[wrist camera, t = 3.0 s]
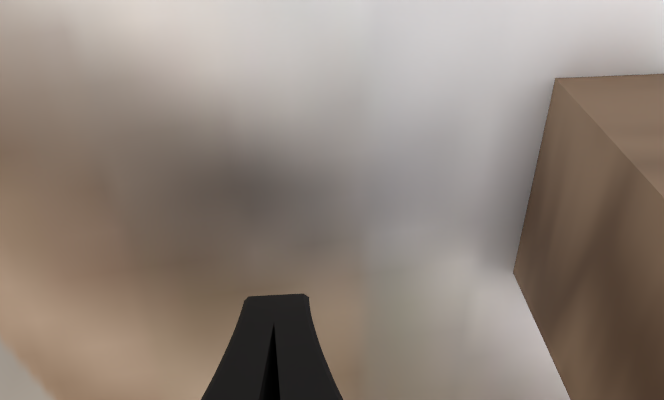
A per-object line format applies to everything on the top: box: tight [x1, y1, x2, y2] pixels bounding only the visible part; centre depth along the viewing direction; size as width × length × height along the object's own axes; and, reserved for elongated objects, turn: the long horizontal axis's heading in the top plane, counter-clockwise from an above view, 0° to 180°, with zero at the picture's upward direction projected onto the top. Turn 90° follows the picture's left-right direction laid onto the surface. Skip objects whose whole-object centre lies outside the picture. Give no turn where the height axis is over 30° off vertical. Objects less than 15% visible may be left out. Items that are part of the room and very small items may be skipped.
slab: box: [513, 74, 664, 400], centre depth 14 cm, size 7×3×8 cm, turn 1°
